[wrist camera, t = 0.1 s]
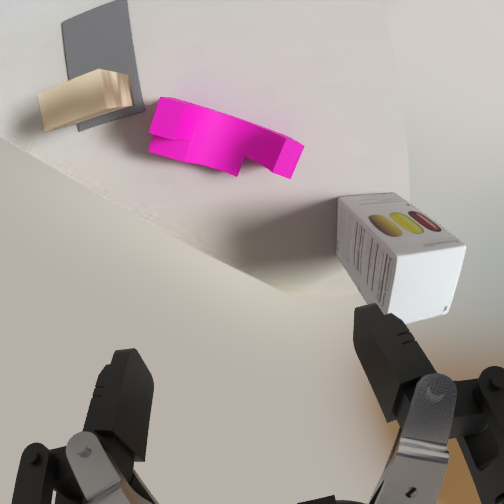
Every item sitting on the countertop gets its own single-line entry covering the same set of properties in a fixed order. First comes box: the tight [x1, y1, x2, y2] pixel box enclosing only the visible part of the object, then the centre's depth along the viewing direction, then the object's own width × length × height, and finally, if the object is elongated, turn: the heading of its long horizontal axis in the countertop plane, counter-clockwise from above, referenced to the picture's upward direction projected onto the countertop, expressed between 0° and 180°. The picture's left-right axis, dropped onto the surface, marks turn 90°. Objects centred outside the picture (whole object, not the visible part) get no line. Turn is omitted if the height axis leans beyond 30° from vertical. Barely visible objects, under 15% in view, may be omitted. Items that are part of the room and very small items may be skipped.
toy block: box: [148, 97, 304, 179], centre depth 32 cm, size 15×6×8 cm, turn 69°
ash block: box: [38, 69, 135, 132], centre depth 27 cm, size 4×7×10 cm, turn 99°
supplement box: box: [336, 193, 466, 324], centre depth 35 cm, size 10×9×17 cm
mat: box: [62, 0, 145, 132], centre depth 29 cm, size 16×9×1 cm, turn 8°
